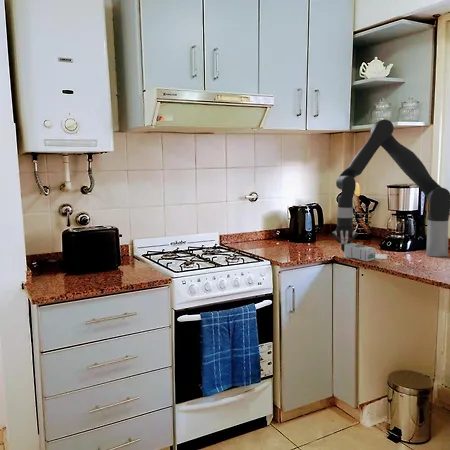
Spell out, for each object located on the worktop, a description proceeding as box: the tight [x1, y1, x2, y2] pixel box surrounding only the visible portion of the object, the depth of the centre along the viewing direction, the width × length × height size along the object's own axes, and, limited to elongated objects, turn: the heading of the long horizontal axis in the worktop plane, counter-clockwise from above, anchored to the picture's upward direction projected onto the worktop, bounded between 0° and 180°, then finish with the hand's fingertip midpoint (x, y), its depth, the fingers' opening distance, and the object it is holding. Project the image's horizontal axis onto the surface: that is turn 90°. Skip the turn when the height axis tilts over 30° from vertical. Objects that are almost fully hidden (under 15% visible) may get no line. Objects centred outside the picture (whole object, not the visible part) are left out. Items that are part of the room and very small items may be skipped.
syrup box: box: [343, 242, 376, 262], centre depth 224 cm, size 6×6×14 cm
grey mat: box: [342, 253, 388, 261], centre depth 229 cm, size 20×12×1 cm, turn 72°
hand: (344, 251), depth 232 cm, fingers closed
